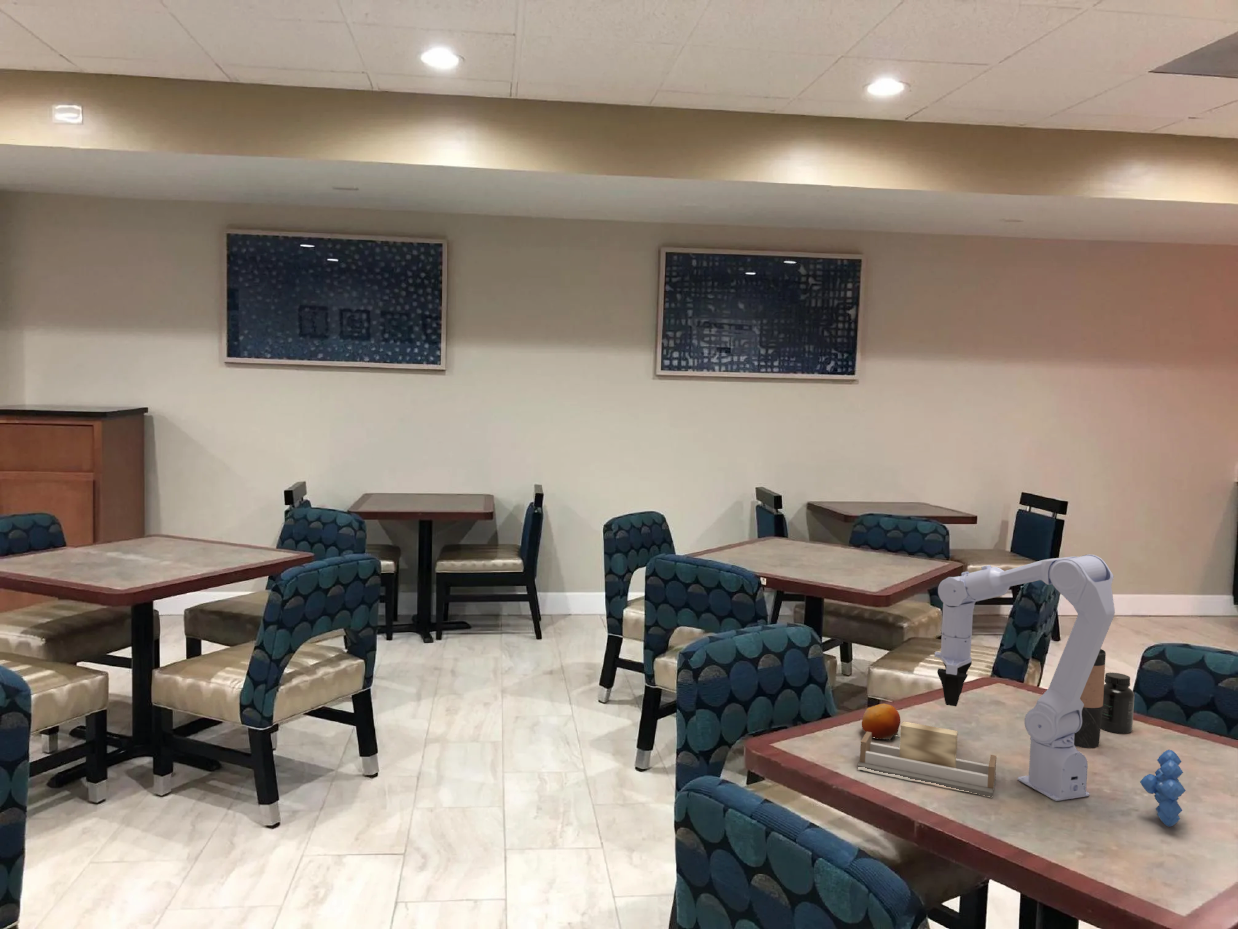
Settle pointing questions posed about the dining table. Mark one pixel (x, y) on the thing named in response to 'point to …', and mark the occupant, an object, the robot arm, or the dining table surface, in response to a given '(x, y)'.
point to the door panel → (928, 744)
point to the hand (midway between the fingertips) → (953, 699)
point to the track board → (929, 768)
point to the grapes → (1166, 787)
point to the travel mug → (1092, 705)
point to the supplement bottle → (1117, 704)
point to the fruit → (881, 721)
